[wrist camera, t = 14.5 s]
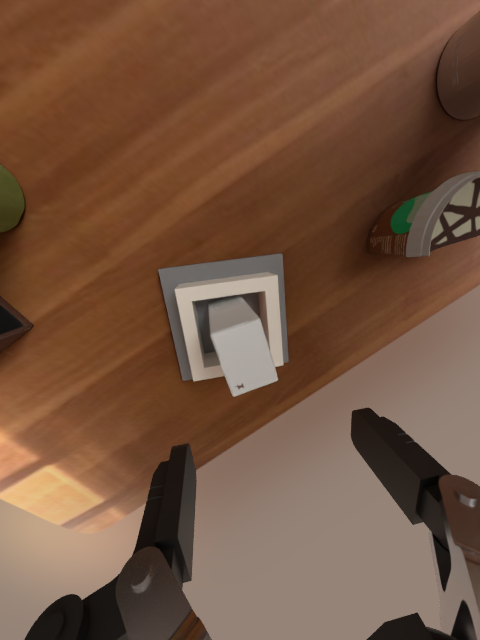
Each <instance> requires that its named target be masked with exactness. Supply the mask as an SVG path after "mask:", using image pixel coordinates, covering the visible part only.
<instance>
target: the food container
mask: <svg viewBox="0 0 480 640" xmlns="http://www.w3.org/2000/svg"><path fill="white" fill-rule="evenodd" d="M479 235H480V171H474V172H467V173H463V174H459V175H457V176H454V177H452V178H450V179H449V180H447V181H445V182H444V183H442V184H441V185H440V186H439V187H437V188H436V189H435V190H434V191H431V192H428V193H425V194H422V195H420V196H417V197H414V198H411V199H408V200H405V201H402V202H400V203H397V204H394V205H392V206H390V207H388V208H387V209H385V210H384V211H383V212H382V213H381V214H380V215H379V216H378V217H377V218H376V220H375V221H374V223H373V225H372V227H371V229H370V232H369V235H368V239H367V253H382V254H400V255H406V257H421V256H430V251H432V250H435V249H437V248H440V247H443V246H447V245H450V244H453V243H456V242H459V241H463V240H466V239H469V238H473V237H476V236H479Z"/></svg>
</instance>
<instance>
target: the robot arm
mask: <svg viewBox="0 0 480 640" xmlns="http://www.w3.org/2000/svg"><path fill="white" fill-rule="evenodd" d="M437 88H438V95H439V98H440V101H441V104H442V106H443V107H444V109H445V110H446V111H447V113H448V114H449V115H451V116H452V117H454V118H456V119H460V120H468V119H472V118H475V117H477V116H479V115H480V11H479V12H478V13H476V14H475V15H474V16H473V17H472V18H471V19H470V20H468V21H467V22H466V23H465V24H464V25H463V26H462V27H461V28H460V29H459V30H458V31H457V32H455V34H454V35H453V36H452V38H451V39H450V40H449V42H448V44H447V46H446V48H445V50H444V52H443V54H442V57H441V60H440V63H439V69H438V75H437ZM351 421H352V422H351V438H352V441H353V444H354V446H355V448H356V449H357V451H358V452H359V453H360V455H361V456H362V457H363V459H364V460H365V461H366V463H367V464H368V465H369V467H370V468H371V469H372V471H373V472H374V473H375V475H376V476H377V477H378V479H379V480H380V481H381V483H382V484H383V485H384V487H385V488H386V489H387V491H388V492H389V493H390V495H391V496H392V498H393V499H394V500H395V502H396V503H397V504H398V506H399V507H400V508H401V510H402V511H403V512H404V514H405V515H406V516H407V518H408V519H409V520H410V522H411V523H412V524H413V525H414V524H418V523H421V522H424V523H425V524H426V525H427V527H428V528H429V539H430V544H431V550H432V556H433V562H434V568H435V574H436V580H437V585H438V591H439V599H440V626H441V631H439V630H436V629H433V628H429V627H425V625H424V623H423V622H422V620H421V618H420V616H419V614H418V613H414V614H411V615H408V616H404V617H401V618H398V619H394V620H391V621H387V622H385V623H384V624H383V625H382V626H380V627H379V628H378V629H377V630H376V631H375V632H374V633H373V634H372V635H371V636H370V637H369V638H368V639H367V640H480V486H478V485H477V484H475V483H474V482H472V481H470V480H468V479H466V478H464V477H460V476H457V475H451V474H450V473H449V472H448V471H447V470H446V469H444V467H442V466H441V465H440V464H439V463H438V462H437V461H436V460H435V459H434V458H433V457H431V455H429V454H428V453H427V452H426V451H425V450H424V449H422V447H421V446H419V444H417V443H416V442H414V440H413V439H412V438H411V437H410V436H409V435H407V434H406V433H405V432H404V431H403V430H402V429H401V428H400V427H399V426H398V425H397V424H396V423H394V422H392V421H390V420H388V419H387V418H385V417H379V416H378V415H377V414H376V413H375V412H374V411H373V410H372V409H370V408H364V409H359V410H354V411H352V420H351ZM195 499H196V470H195V465H194V461H193V456H192V452H191V448H190V445H189V443H188V444H183V445H178V446H173V447H172V449H171V454H170V459H169V461H165V462H161V463H160V464H159V466H158V468H157V469H156V471H155V472H154V474H153V478H152V482H151V486H150V490H149V494H148V501H147V502H146V507H145V510H144V515H143V519H142V523H141V527H140V531H139V535H138V539H137V543H136V547H135V550H134V552H133V555H132V557H131V558H130V559H129V560H128V561H127V563H126V564H125V565H124V567H123V569H122V571H121V573H120V574H119V575H118V576H117V577H116V578H114V579H113V580H112V581H111V582H110V583H108V584H106V585H105V586H103V587H102V588H100V589H99V590H97V591H96V592H94V593H92V594H91V595H89V596H88V597H86V598H85V599H83V600H81V598H80V597H79V596H78V595H75V594H70V595H66V596H64V597H61V598H60V599H58V600H56V601H55V602H54V603H52V604H51V605H50V606H49V607H48V608H47V609H46V610H45V611H44V612H43V613H42V614H41V615H40V616H39V618H38V619H37V621H35V623H34V624H33V626H32V627H31V629H30V631H29V632H28V634H27V636H26V638H25V640H212V639H211V637H210V636H209V634H208V632H207V630H206V629H205V627H204V625H203V623H202V622H201V620H200V619H199V618H198V617H197V616H196V614H195V613H194V611H193V609H192V608H191V606H190V604H189V602H188V600H187V598H186V596H185V594H184V593H183V591H182V586H183V583H184V582H188V581H191V577H192V557H193V538H194V519H195Z"/></svg>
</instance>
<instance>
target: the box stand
mask: <svg viewBox="0 0 480 640" xmlns="http://www.w3.org/2000/svg"><path fill="white" fill-rule="evenodd" d="M158 271H159V276H160V280H161V285H162V289H163V294H164V298H165V303H166V307H167V312H168V316H169V321H170V325H171V330H172V334H173V339H174V344H175V348H176V353H177V357H178V362H179V366H180V371H181V375H182V380H183V381H186V380H191V379H193V382H194V381H199V380H205V379H211V378H216V377H222V376H225V375H224V373H223V371H222V368H221V365H220V361H219V358H218V356H217V353H216V350H215V348H214V345H213V342H212V339H211V337H210V325H209V309H208V303H211V302H214V301H217V300H220V299H223V298H226V297H229V296H232V295H240V296H241V297H242V298H243V299H244V300H245V301H246V303H247V304H248V305H249V306H250V307H251V309H252V310H253V311H254V312H255V313H256V314H257V315H258V317H259V318H260V320H261V323H262V327H263V330H264V333H265V336H266V340H267V343H268V346H269V350H270V353H271V356H272V359H273V362H274V365H275V367H277V366H283V363H286V362H289V360H288V343H287V325H286V307H285V290H284V272H283V255H282V254H281V253H278V254H270V255H263V256H255V257H247V258H239V259H231V260H223V261H215V262H207V263H200V264H192V265H184V266H176V267H168V268H160V269H158Z"/></svg>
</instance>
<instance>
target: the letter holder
mask: <svg viewBox="0 0 480 640" xmlns="http://www.w3.org/2000/svg"><path fill="white" fill-rule="evenodd" d="M32 326H33V324H32V323H30V322H29V321H28V320H27V319H26V318H25V317H23V316H22V315H21V314H20V313H19V312H18V311H17V310H15V309H14V308H13V307H12V306H11V305H10V304H8V303H7V302H6V301H5V300H4V299H3V298H2V297H0V352H1V351H3V350H4V349H5V348H6V347H8V346H9V345H10V344H11V343H13V342H14V341H15V340H16V339H18V338H19V337H20V336H21V335H23V334H24V333H25V332H27V331H28V330H30V329H31V327H32Z"/></svg>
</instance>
